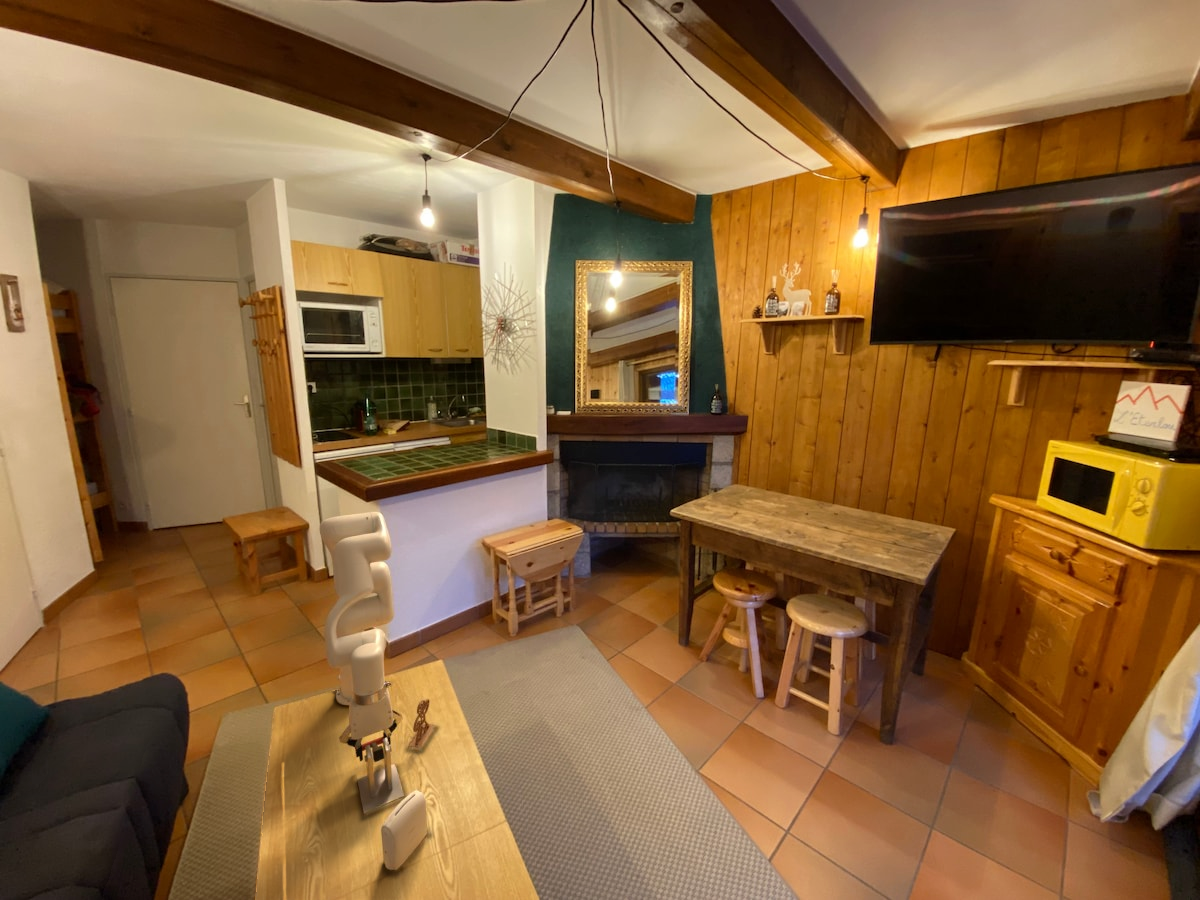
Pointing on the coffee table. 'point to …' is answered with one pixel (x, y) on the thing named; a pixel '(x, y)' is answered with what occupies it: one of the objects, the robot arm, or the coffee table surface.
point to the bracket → (379, 781)
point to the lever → (376, 748)
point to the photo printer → (404, 830)
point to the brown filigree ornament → (422, 732)
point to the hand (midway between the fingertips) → (373, 751)
